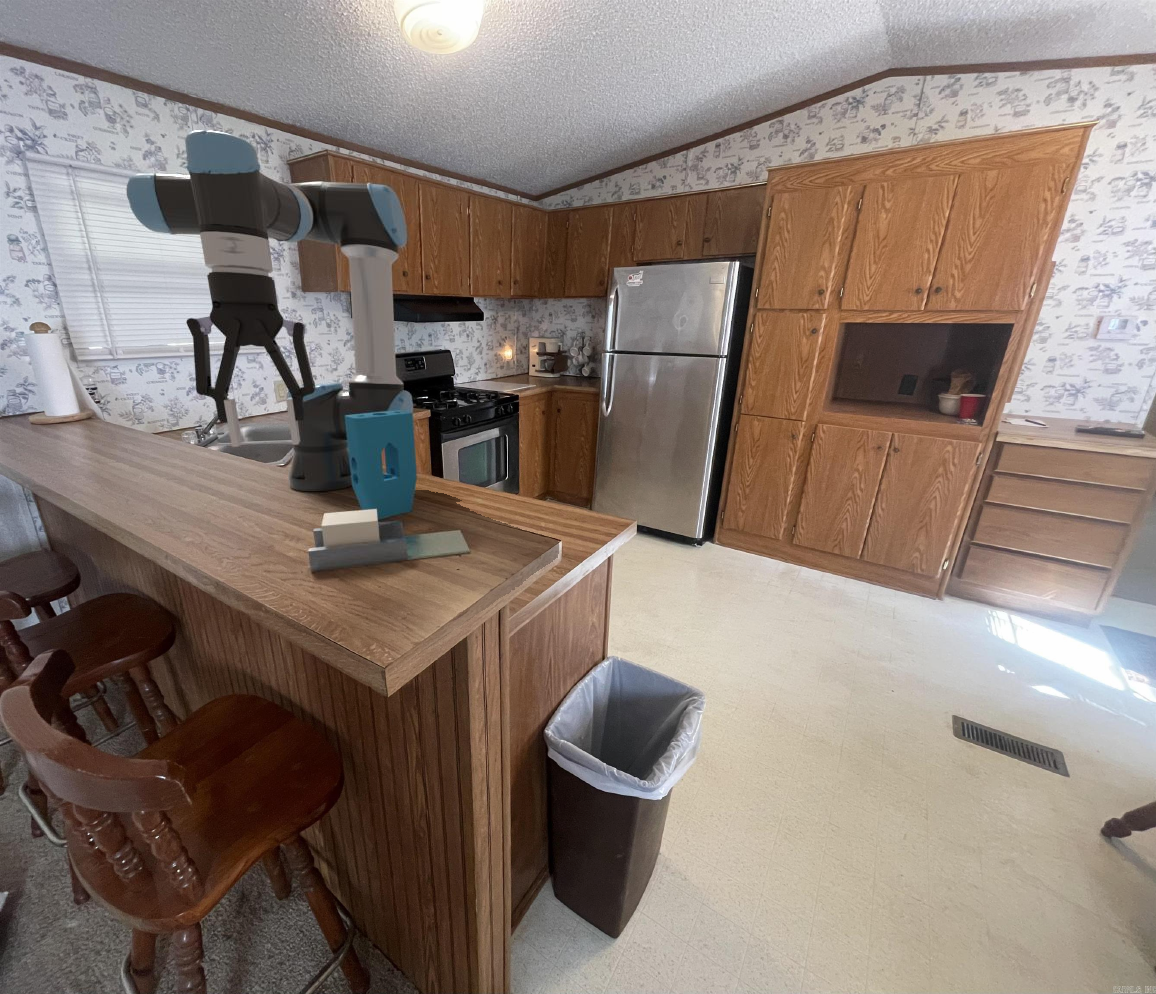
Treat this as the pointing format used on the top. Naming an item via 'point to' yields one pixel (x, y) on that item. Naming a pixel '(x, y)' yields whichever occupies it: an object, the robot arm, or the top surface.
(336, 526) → the block
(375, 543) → the chute
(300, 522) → the top surface
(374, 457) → the block
